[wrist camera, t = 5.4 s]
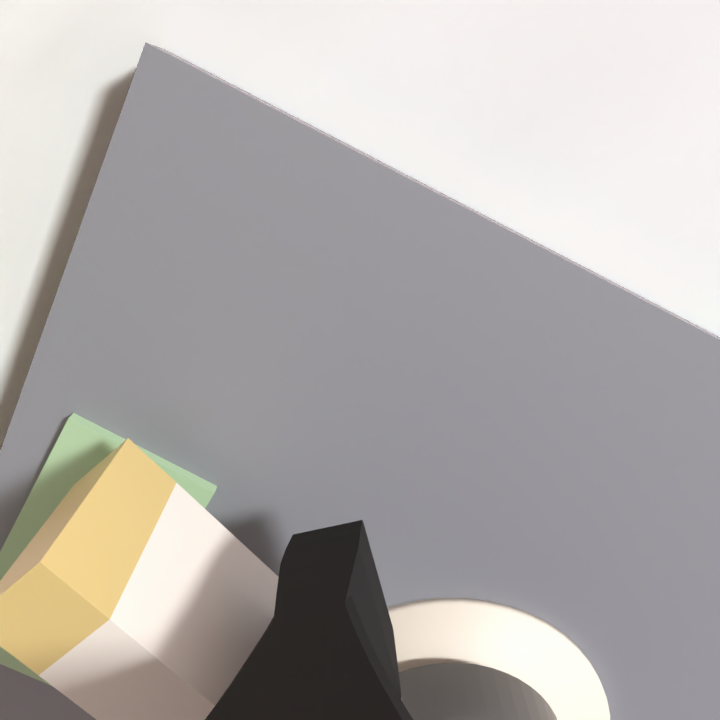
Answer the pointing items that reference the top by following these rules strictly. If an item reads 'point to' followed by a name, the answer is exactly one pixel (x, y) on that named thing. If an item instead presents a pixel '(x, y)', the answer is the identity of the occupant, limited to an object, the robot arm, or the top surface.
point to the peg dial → (175, 608)
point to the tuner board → (383, 402)
